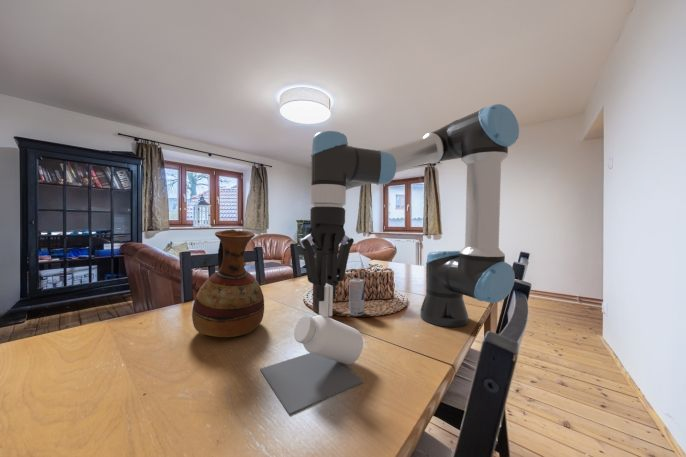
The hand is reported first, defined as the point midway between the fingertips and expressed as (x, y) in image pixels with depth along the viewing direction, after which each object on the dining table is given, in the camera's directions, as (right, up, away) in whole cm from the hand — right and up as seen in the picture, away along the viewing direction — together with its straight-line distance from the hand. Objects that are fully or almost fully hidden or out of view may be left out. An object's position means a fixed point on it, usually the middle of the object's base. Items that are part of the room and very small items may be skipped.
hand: (325, 314), depth 57 cm
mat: (-3, -12, -2) cm, 13 cm away
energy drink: (+9, -12, +36) cm, 38 cm away
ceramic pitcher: (-30, -12, +21) cm, 38 cm away
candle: (-4, -11, +39) cm, 41 cm away
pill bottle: (+6, -9, +4) cm, 12 cm away
